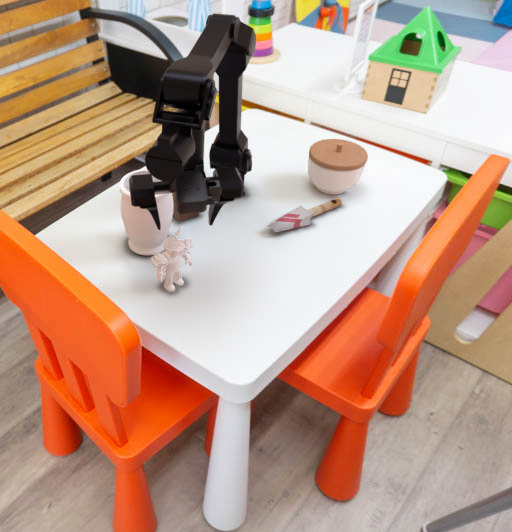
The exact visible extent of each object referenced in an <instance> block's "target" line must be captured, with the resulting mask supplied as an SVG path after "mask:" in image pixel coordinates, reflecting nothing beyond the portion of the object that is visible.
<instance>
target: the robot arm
mask: <svg viewBox="0 0 512 532" xmlns="http://www.w3.org/2000/svg"><path fill="white" fill-rule="evenodd" d="M256 46H257V34H256V32H255V30H254V28H253V27H252V26H250V25H248V24H246V23H244V21H243V22H242V20H241V19H240V17H239V16H236V15H235V14H227V13H212V14H209V15H208V16H207V18H206V21H205V27H204V28H203V30H202V31H201V33H200V35H199V36H198V38H197V40H196V42H195V43H194V45H193V47H192V48H191V50H190V51H189V53H188V55H186V56H185V57H182V58H180V59H179V58H178V59H177V60H174V61H173V62H172V63H171V64H170V65H169V66H168V67H167V69H166V70H165V72H164V73H163V74H162V75H161V77H160V79H159V82H158V88H157V93H156V99H155V103H154V110H153V114H152V119H151V123H152V124H157V125H161V133H159V135H158V136H157V138H156V140H155V142H154V143H153V144H152V145H151V146H150V148H149V149H148V151H147V152H146V155H145V157H144V165H145V169H147V170H148V171H149V173H150V174H143V175H132V176H131V177H130V178H129V189H130V197H131V205H132V206H135V207H138V206H139V207H140V208H141V209H147V210H148V211H149V212H150V214H151V215H152V217H153V219H154V222H155V224H156V226H157V228H158V230H161V224H160V219H159V213H158V208H157V203H156V198H155V195H157V194H168V193H174V195H175V201H176V209H177V211H178V213H180V214H187V213H193V212H198V213H199V214H200V213H204V212H206V211H207V208H208V225H209V226H213V224H214V222H215V220H216V219H217V216H218V215H219V213H220V211H221V210H222V207H224V205H225V204H227V203H230V202H231V203H232V202H234V201H235V200H236V199H240V198H242V197H244V196H245V195H246V191H245V177H246V175H247V173H249V172H252V170H253V155H252V152H251V149H250V148H249V138H248V136H247V135H246V134H245V132H244V131H243V130H242V105H243V104H242V103H243V79H244V77H243V76H244V72H245V71H246V70H247V67H248V66H249V63H250V61H251V59H252V57H253V56H254V54H255V51H256ZM215 74H216V75H217V76H218V88H217V87H216V80H215V79H214V77H215ZM217 94H218V132H217V134H216V135H215V139H214V140H213V142H212V143H211V145H210V148H209V153H208V154H209V155H208V158H209V160H208V161H209V169H210V170H213V171H212V176H207V174H206V172H205V161H204V159H205V157H204V156H205V136H206V135H205V134H206V125H207V122H211V117H212V113H213V110H214V106H215V103H216V100H217V99H216V98H217ZM165 107H166V108H171V109H176V110H175V111H172V110H164V108H165ZM152 176H153V177H155V178H156V179H158V180H161V181H160V182H153V179H152Z"/></svg>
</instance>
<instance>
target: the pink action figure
mask: <svg viewBox="0 0 512 532" xmlns="http://www.w3.org/2000/svg"><path fill="white" fill-rule="evenodd" d="M181 228H182V226H181V225H180V226H179V228H178V229H177V230H176V231H175V232H173V235H170V236H167V237H168V239H165V240H164V242H163V247H164V250H163V251H162V252H158V253H157V254H154V255H151V258H150V259H151V264H152V266H153V268H154V269H155V268H156V279H157V281H158V282H161V283H162V282H163V277H165V280H164V282H163V288H164V289H165V290H166V291H167V292H170V293H173V292H175V291H176V287H175V285H177V286H181V287H182V286H184V284H185V281H184V280H183V278H182V269H181V268H182V267H181V260H182V257H183V258H184V264H185V266H188V265H189V267H191V266H192V265H193V262H192V258H191V256H190V255H189V254H191V253H192V251H193V250H194V245H193V244H192V241H191V238H190V237H188V236H185V237H184V238H181V239H179V238H177V237H179V233H180V232H181ZM164 269H165V270H164ZM163 270H164V271H163ZM174 284H175V285H174Z"/></svg>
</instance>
